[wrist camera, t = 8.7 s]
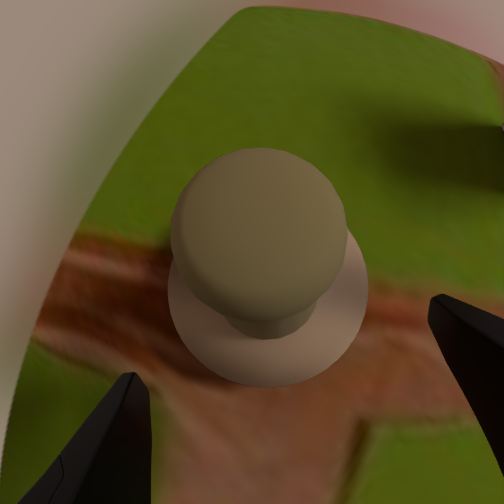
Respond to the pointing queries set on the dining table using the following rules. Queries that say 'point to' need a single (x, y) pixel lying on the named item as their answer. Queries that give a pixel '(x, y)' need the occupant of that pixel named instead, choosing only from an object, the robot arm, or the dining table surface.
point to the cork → (259, 239)
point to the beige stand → (275, 350)
